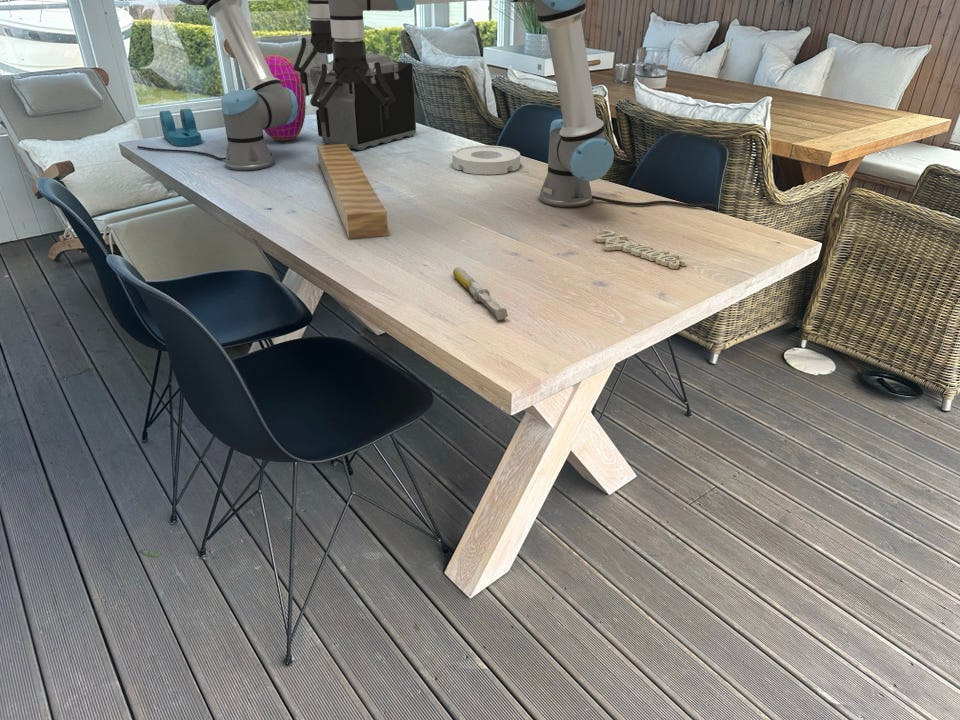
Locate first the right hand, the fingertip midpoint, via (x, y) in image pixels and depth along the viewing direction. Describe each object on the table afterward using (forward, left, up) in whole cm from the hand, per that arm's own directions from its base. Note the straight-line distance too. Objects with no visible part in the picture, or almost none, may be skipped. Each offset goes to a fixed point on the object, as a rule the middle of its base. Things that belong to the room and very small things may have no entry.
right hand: (356, 134), depth 169 cm
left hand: (+39, -44, 0) cm, 59 cm away
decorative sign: (-69, -15, -24) cm, 75 cm away
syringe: (-46, +25, -24) cm, 57 cm away
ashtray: (-3, -71, -24) cm, 75 cm away
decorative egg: (+82, -69, -24) cm, 110 cm away
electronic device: (+54, -85, -24) cm, 104 cm away
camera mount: (+114, -50, -24) cm, 127 cm away
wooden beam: (+20, -22, -24) cm, 38 cm away
